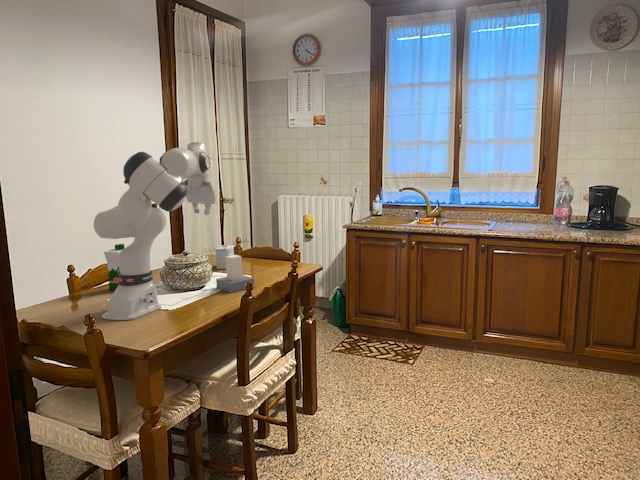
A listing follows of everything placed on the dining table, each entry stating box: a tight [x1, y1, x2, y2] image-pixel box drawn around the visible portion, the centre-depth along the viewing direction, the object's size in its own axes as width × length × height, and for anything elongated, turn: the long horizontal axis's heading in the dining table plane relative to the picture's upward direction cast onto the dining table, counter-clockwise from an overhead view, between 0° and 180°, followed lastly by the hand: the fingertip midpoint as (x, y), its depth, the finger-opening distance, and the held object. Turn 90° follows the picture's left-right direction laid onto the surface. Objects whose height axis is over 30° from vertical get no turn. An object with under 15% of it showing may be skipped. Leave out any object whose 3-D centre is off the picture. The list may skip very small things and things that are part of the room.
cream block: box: [225, 254, 244, 281], centre depth 219 cm, size 5×5×10 cm
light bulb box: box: [215, 244, 235, 270], centre depth 263 cm, size 11×7×11 cm, turn 172°
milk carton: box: [103, 243, 126, 292], centre depth 224 cm, size 9×9×20 cm
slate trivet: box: [215, 274, 256, 294], centre depth 220 cm, size 12×12×4 cm
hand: (201, 213), depth 215 cm, fingers open, 8 cm apart
